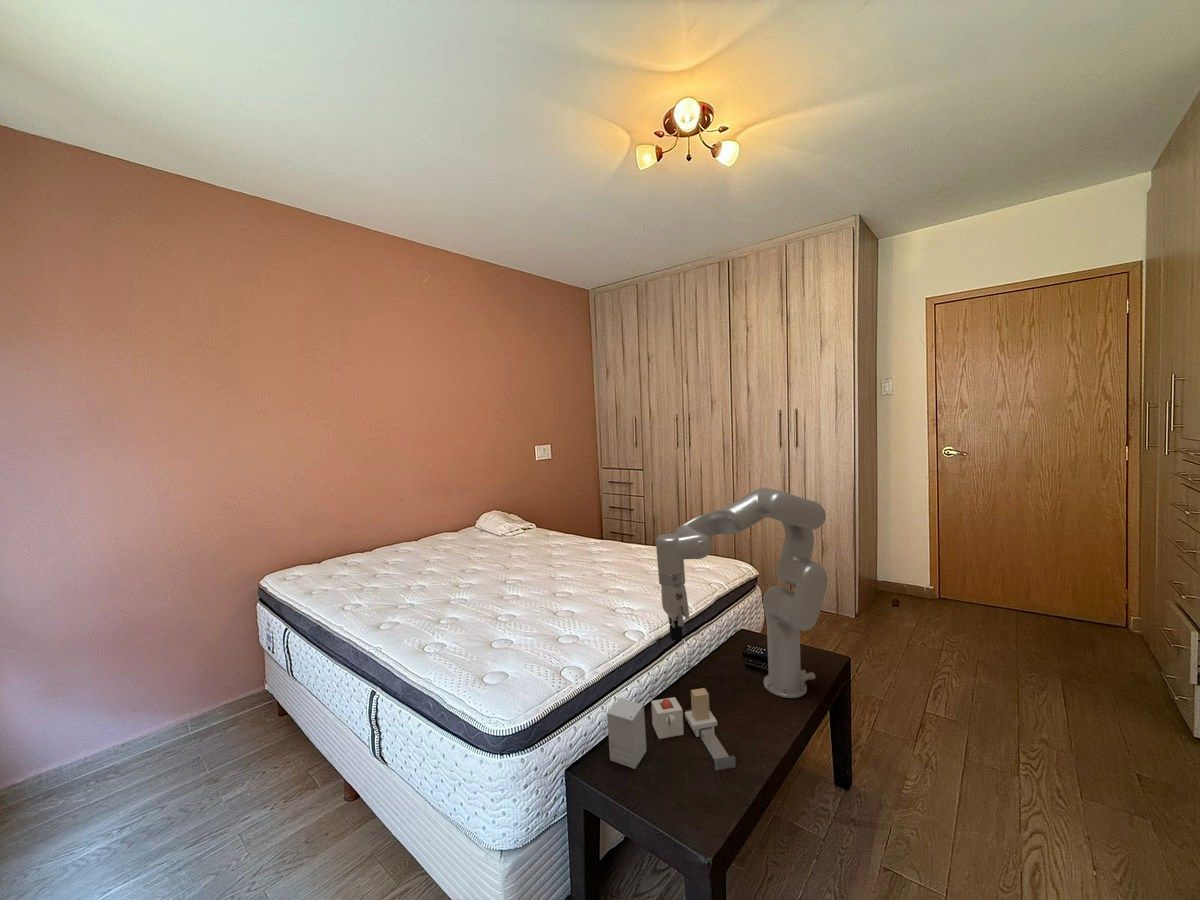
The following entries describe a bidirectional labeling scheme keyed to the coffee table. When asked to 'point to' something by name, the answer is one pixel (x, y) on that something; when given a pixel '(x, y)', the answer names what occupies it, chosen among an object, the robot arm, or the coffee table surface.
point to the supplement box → (626, 732)
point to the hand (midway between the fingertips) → (676, 638)
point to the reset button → (666, 704)
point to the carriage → (700, 712)
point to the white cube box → (667, 718)
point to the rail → (716, 749)
